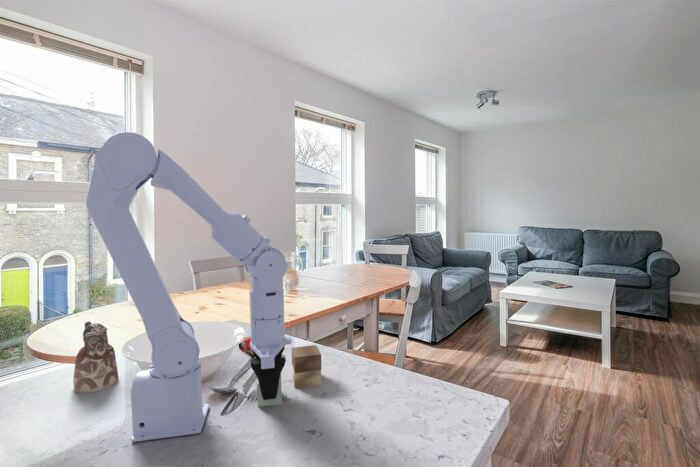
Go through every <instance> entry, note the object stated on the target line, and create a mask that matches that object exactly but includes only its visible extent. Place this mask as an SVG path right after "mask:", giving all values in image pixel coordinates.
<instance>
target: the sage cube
mask: <svg viewBox="0 0 700 467" xmlns="http://www.w3.org/2000/svg"><path fill="white" fill-rule="evenodd" d="M256 379H257V381H256V392H257V394H256V395H257V396H256V397H257V408H262V407H263V408H264V407H270V406H278V405H282V404H283V401H282V400H283V398H282V395H283V394H282V373H281V374H280V378H279V384H278V391H277V396H276V399H269V400H263V397H262V394H261V390H260V385H259V381H258V378H256Z"/></svg>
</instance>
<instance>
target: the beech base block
mask: <svg viewBox="0 0 700 467" xmlns="http://www.w3.org/2000/svg"><path fill="white" fill-rule="evenodd" d="M292 378H293V383H294V384H293V385H294V389H295V388H304V387H311V386H313V387H314V386H320V385H322V370H315V371H308V372H300V373H295V371H294V368H293V367H292Z"/></svg>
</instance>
